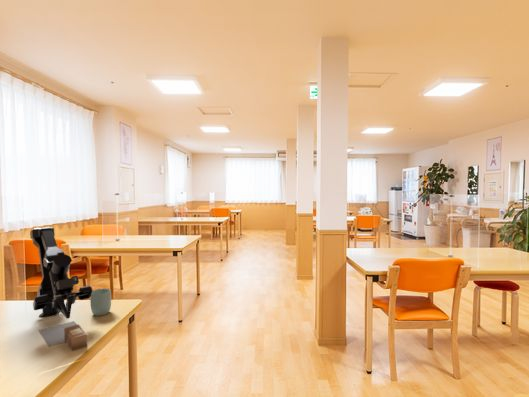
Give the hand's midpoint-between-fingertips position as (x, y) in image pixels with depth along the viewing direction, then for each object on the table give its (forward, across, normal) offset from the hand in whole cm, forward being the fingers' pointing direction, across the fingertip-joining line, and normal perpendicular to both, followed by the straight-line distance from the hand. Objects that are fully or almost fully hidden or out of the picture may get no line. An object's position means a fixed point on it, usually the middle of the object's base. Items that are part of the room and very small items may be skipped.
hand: (68, 317), depth 121 cm
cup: (-4, +15, +15) cm, 22 cm away
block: (+6, 0, 0) cm, 6 cm away
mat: (+2, -1, +8) cm, 8 cm away
